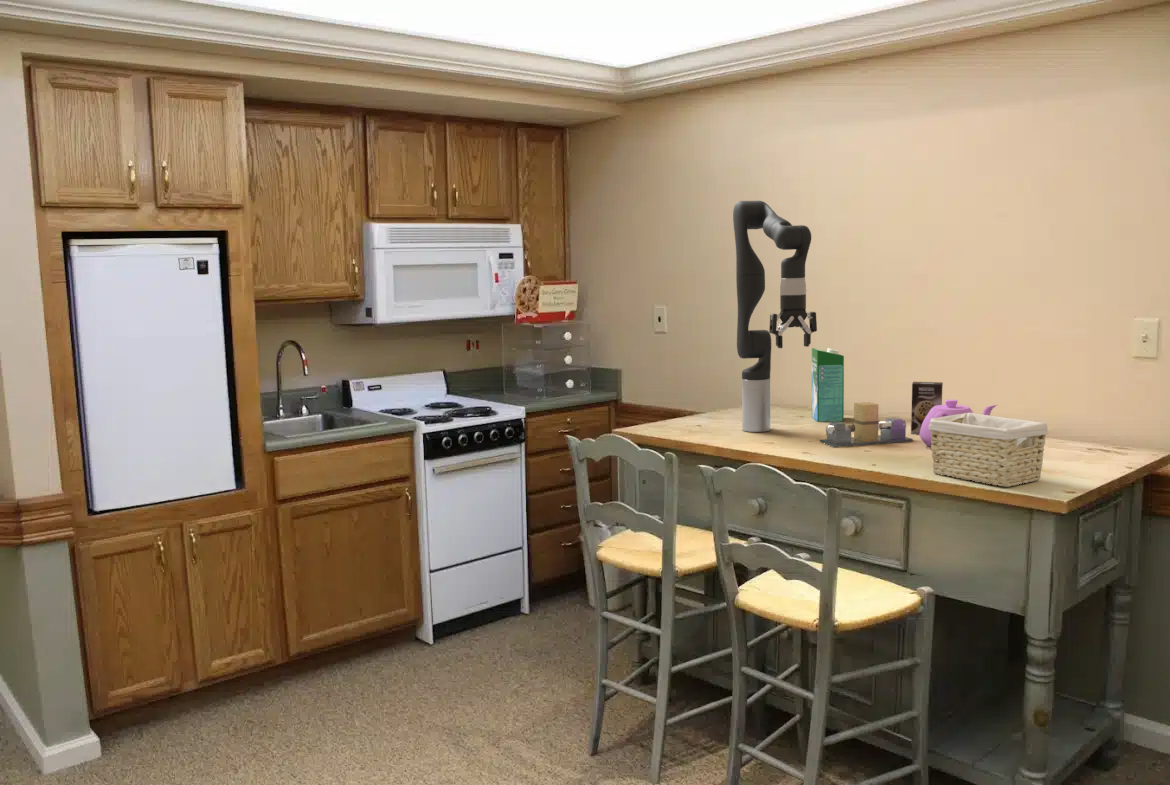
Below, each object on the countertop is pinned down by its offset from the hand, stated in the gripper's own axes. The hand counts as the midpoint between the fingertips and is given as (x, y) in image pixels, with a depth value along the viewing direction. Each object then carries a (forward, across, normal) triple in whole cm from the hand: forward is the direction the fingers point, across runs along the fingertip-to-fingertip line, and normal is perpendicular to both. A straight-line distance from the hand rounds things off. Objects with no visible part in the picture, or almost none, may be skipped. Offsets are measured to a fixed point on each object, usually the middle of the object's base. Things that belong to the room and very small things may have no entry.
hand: (793, 347), depth 287 cm
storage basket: (+29, -26, +58) cm, 70 cm away
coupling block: (+29, -22, +5) cm, 36 cm away
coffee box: (+30, -46, -2) cm, 55 cm away
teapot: (+30, -42, +22) cm, 56 cm away
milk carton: (+31, -29, -37) cm, 57 cm away
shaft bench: (+30, -22, +5) cm, 37 cm away
